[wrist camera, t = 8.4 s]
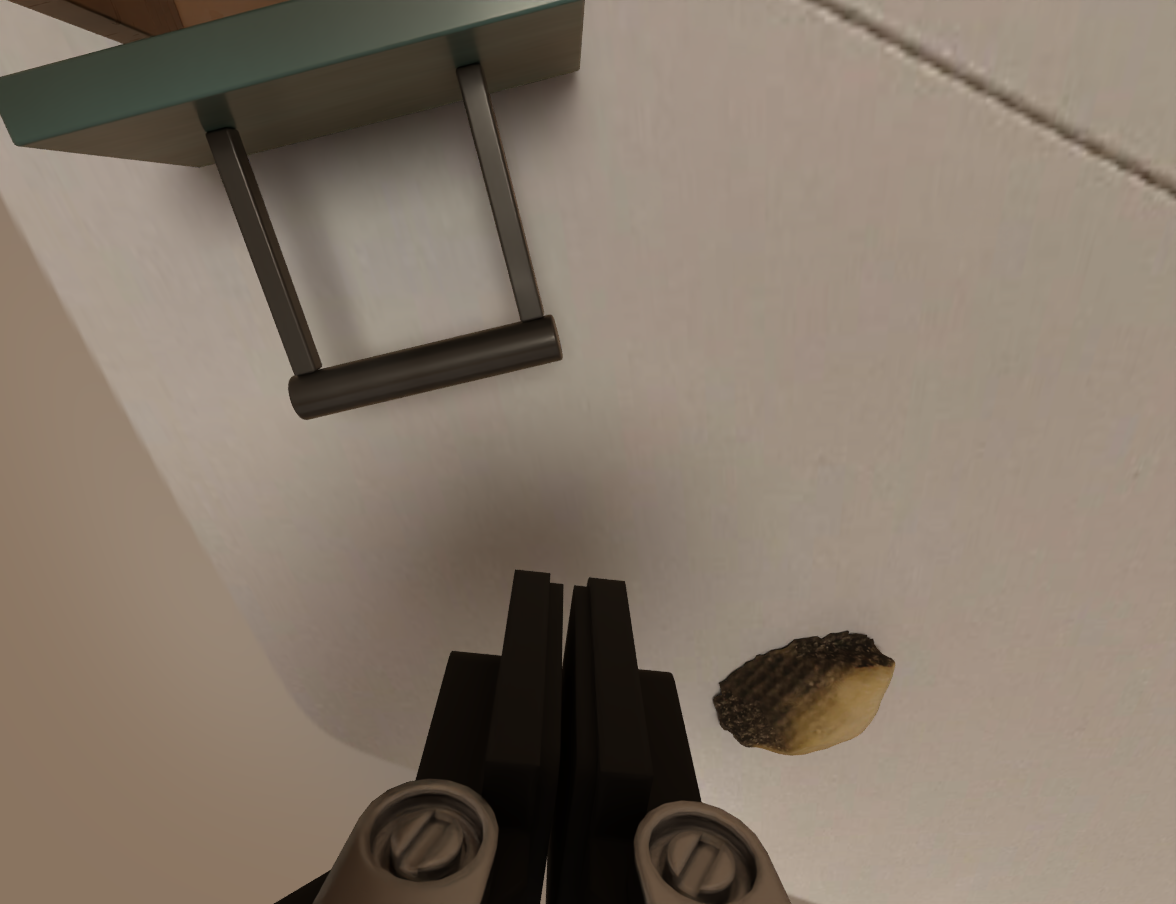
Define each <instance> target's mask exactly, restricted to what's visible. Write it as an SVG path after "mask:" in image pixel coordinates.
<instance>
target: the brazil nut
mask: <svg viewBox="0 0 1176 904" xmlns="http://www.w3.org/2000/svg"><path fill="white" fill-rule="evenodd" d="M848 634H849V631H847V632H843V633H833V634H829V635H828V636H827V637H825V638H824V639H821V638H819V637H812V638H806V639H797V640H794V641H793V642H792V643H791V644H790V645H789V646H788V647H786V648H784V649H780V650H773V651H770V652H769V653H768V654H766V655H759V656H756V659H755V660H752V661H750V662H747V663H745V665H744V667H742V668H740V669H738V670H736V671H735V672H733V673H732V674H731V675H730V676H729V677H728V678H727V680H726V681H723V682H720V683H719V684H720V688H721V692H722V695H717V696H716V697H715V698H714V699H713V701H714V706H715V708H716V709H717V711H718V713H719V717H720V725H721V727H722V728H723V729H724V730H728V731H729V732H730V733H732V734H733V736H734V738H735V739H736V740H737V741H738V742H739V743H740V744H741V745H743V746H745V747H758V748H763V749H766V750H769V751H772V752H775V753H778V754H784V755H804V754H808V753H811V752H814V751H818V750H823V749H826V748H829V747H831V746H834V745H836V744H839V743H841V742H844V741H848V740H851V739H853V738H854V737H856V736H858V735H859V734H861V733H862V732H863V731H864V730H865V729H866V727H867V726H868V725H869V724H870V723H871V721H872V720H873V718H874V716H875V715H876V713H877V711H878V709H879V706H880V703H881V700H882V698H883V696H884V693H885V692H886V690H887V688H888V686H889V684H890V681H891V678H892V676H893V672H894V668H895V662H894V660H893V659H892V658H889V657H887V656H885V655H883V654H882V653H881V652H880V651H879V650H878V649H877V647H876V646H875V645H874V641H873V639H869V638H867V635H859V634H852V635H848Z"/></svg>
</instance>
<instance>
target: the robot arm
mask: <svg viewBox="0 0 1176 904" xmlns="http://www.w3.org/2000/svg"><path fill="white" fill-rule="evenodd" d="M562 634H563V584H557V583H550V573H543V572H534V571H524V570H515V573H514V579H513V585H512V592H511V598H510V605H509V611H508V618H507V624H506V631H505V637H504V644H503V650H502V656H499V655H489V654H478V653H468V652H458V651H452V652H451V653H450V656H449V659H448V663H447V666H446V670H445V674H444V677H443V681H442V685H441V688H440V692H439V696H438V699H437V703H436V707H435V710H434V714H433V718H432V721H431V725H430V729H429V733H428V736H427V740H426V744H425V747H424V751H423V755H422V758H421V762H420V766H419V769H418V773H417V777H416V780H415V781H410V782H406V783H404V784H401V785H399V786H397V787H394V788H391V789H389V790H387V791H386V792H385V793H383V794H382V795H380V796H379V797H378V798H376V799H375V800H374V801H372V802H371V803H370V805H369V806H368V807H367V809H366V810H365V811H364V812H363V814H362V815H361V816H360V818H359V820H358V821H357V823H356V825H355V827H354V829H353V831H352V832H351V834H350V836H349V838H348V840H347V841H346V843H345V845H344V847H343V849H342V851H341V853H340V854H339V856H338V858H337V860H336V862H335V864H334V865H333V867H332V869H331V870H330V871H328V872H326V873H325V874H323V875H321V876H320V877H318V878H316V879H315V880H313V881H311V882H310V883H308V884H306V885H305V886H303V887H301V888H299V889H298V890H296V891H294V892H293V893H291V894H289V895H288V896H286V897H284V898H283V899H281V900H279V901H278V902H276V903H274V904H540V900H541V894H542V887H543V880H544V873H545V867H546V860H547V883H546V884H547V885H546V904H791V902H790V900H789V898H788V895H787V893H786V891H785V889H784V887H783V885H782V883H781V881H780V879H779V876H778V874H777V872H776V870H775V868H774V866H773V864H772V862H771V860H770V857H769V855H768V853H767V851H766V850H765V848H764V847H763V845H762V844H761V842H760V840H759V839H758V837H757V836H756V834H755V833H753V832H752V831H751V830H750V829H749V828H748V827H747V826H746V825H745V824H744V823H743V822H742V821H741V820H739V819H738V818H736V817H734V816H733V815H731V814H729V813H728V812H726V811H724V810H723V809H720V808H717V807H714V806H711V805H708V804H705V803H702V802H701V797H700V793H699V788H698V784H697V779H696V775H695V770H694V766H693V761H692V757H691V752H690V748H689V743H688V739H687V734H686V730H685V725H684V721H683V716H682V712H681V707H680V703H679V698H678V694H677V689H676V685H675V681H674V678H673V675H672V674H671V673H670V672H661V671H651V670H641V669H638V665H637V659H636V652H635V645H634V638H633V631H632V625H631V618H630V611H629V604H628V598H627V591H626V584H625V581H618V580H609V579H599V578H590V577H589V579H588V583H587V587H585V586H576V585H574V589H573V595H572V601H571V609H570V616H569V623H568V630H567V637H566V644H565V651H564V658H563V665H562Z"/></svg>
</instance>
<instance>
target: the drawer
mask: <svg viewBox="0 0 1176 904" xmlns="http://www.w3.org/2000/svg"><path fill="white" fill-rule="evenodd" d="M8 1H11V2H13V3H16V4H19V5H21V6H24V7H27V8H29V9H32V10H35V11H37V12H40V13H43V14H45V15H48V16H51V17H53V18H56V19H59V20H61V21H64V22H67V23H69V24H72V25H75V26H77V27H80V28H83V29H85V30H88V31H91V32H93V33H96V34H99V35H101V36H104V37H107V38H109V39H112V40H115V41H117V42H120V43H123V45H119V46H115V47H111V48H107V49H104V50H100V51H96V52H92V53H89V54H85V55H81V56H77V57H74V58H70V59H66V60H62V61H59V62H55V63H51V64H47V65H43V66H40V67H36V68H32V69H28V70H25V71H21V72H17V73H13V74H10V75H6V76H2V77H0V115H1V117H2V119H3V121H4V123H5V126H6V128H7V130H8V132H9V135H10V137H11V139H12V141H13V143H14V144H15V145H16V146H20V147H29V148H37V149H46V150H54V151H63V152H71V153H80V154H88V155H97V156H105V157H114V158H122V159H131V160H139V161H148V162H156V163H165V164H173V165H182V166H190V167H199V168H200V167H204V166H207V165H211V164H215V163H216V165H217V168H218V171H219V173H220V176H221V179H222V182H223V184H224V187H225V190H226V192H227V195H228V198H229V200H230V203H231V206H232V208H233V211H234V214H235V216H236V219H237V222H238V225H239V227H240V230H241V233H242V235H243V238H244V241H245V243H246V246H247V249H248V251H249V254H250V257H251V259H252V262H253V265H254V268H255V270H256V273H257V276H258V278H259V281H260V284H261V286H262V289H263V292H264V294H265V297H266V300H267V303H268V305H269V308H270V311H271V313H272V316H273V319H274V321H275V324H276V327H277V329H278V332H279V335H280V337H281V340H282V343H283V346H284V348H285V351H286V354H287V356H288V359H289V362H290V364H291V367H292V370H293V372H294V376H292V377H291V378H290V380H289V384H288V390H289V396H290V400H291V403H292V406H293V408H294V410H295V412H296V413H297V414H298V416H299V417H300V418H302V419H304V420H309V419H313V418H317V417H322V416H326V415H330V414H334V413H339V412H343V411H347V410H351V409H356V408H360V407H364V406H368V405H373V404H377V403H381V402H385V401H390V400H394V399H398V398H402V397H407V396H411V395H415V394H419V393H424V392H428V391H432V390H436V389H441V388H445V387H449V386H453V385H458V384H462V383H466V382H470V381H475V380H479V379H483V378H487V377H492V376H496V375H500V374H504V373H509V372H513V371H517V370H521V369H526V368H530V367H534V366H538V365H543V364H547V363H551V362H555V361H560V360H562V358H563V355H562V349H561V344H560V340H559V335H558V331H557V327H556V324H555V320H554V318H553V316H552V315H550V314H549V315H545V316H543V315H544V309H543V305H542V301H541V297H540V293H539V289H538V285H537V281H536V277H535V273H534V269H533V265H532V261H531V257H530V253H529V249H528V245H527V241H526V237H525V233H524V229H523V225H522V221H521V217H520V213H519V209H518V205H517V201H516V197H515V193H514V189H513V185H512V181H511V177H510V173H509V169H508V165H507V161H506V157H505V153H504V149H503V145H502V141H501V137H500V133H499V129H498V125H497V121H496V117H495V113H494V109H493V105H492V101H491V97H490V93H494V92H497V91H501V90H505V89H509V88H513V87H517V86H521V85H525V84H529V83H533V82H537V81H541V80H544V79H548V78H552V77H556V76H560V75H564V74H568V73H572V72H576V71H578V70H579V69H580V58H581V45H582V31H583V18H584V5H585V0H8ZM462 100H463V102H464V105H465V109H466V113H467V117H468V121H469V125H470V128H471V132H472V136H473V140H474V144H475V148H476V151H477V155H478V159H479V163H480V167H481V171H482V174H483V178H484V182H485V186H486V190H487V193H488V197H489V201H490V205H491V209H492V213H493V216H494V220H495V224H496V228H497V232H498V236H499V239H500V243H501V247H502V251H503V255H504V259H505V262H506V266H507V270H508V274H509V278H510V282H511V285H512V289H513V293H514V297H515V301H516V304H517V308H518V312H519V316H520V320H521V321H520V322H516V323H512V324H508V325H503V326H499V327H495V328H491V329H487V330H482V331H478V332H474V333H470V334H466V335H461V336H457V337H453V338H449V339H445V340H441V341H436V342H432V343H428V344H424V345H420V346H415V347H411V348H407V349H403V350H399V351H394V352H390V353H386V354H382V355H378V356H373V357H369V358H365V359H361V360H357V361H352V362H348V363H344V364H340V365H336V366H332V367H327V368H323V369H320V368H321V367H322V363H321V360H320V358H319V355H318V352H317V349H316V346H315V344H314V341H313V338H312V335H311V332H310V330H309V327H308V324H307V321H306V319H305V316H304V313H303V310H302V307H301V305H300V302H299V299H298V296H297V293H296V291H295V288H294V285H293V282H292V279H291V277H290V274H289V271H288V268H287V265H286V263H285V260H284V257H283V254H282V251H281V249H280V246H279V243H278V240H277V237H276V235H275V232H274V229H273V226H272V223H271V221H270V218H269V215H268V212H267V209H266V207H265V204H264V201H263V198H262V195H261V193H260V190H259V187H258V184H257V181H256V179H255V176H254V173H253V170H252V167H251V165H250V162H249V159H248V156H247V155H251V154H255V153H258V152H262V151H266V150H270V149H274V148H278V147H282V146H286V145H290V144H294V143H298V142H302V141H305V140H309V139H313V138H317V137H321V136H325V135H329V134H333V133H337V132H341V131H345V130H349V129H352V128H356V127H360V126H364V125H368V124H372V123H376V122H380V121H384V120H388V119H392V118H396V117H399V116H403V115H407V114H411V113H415V112H419V111H423V110H427V109H431V108H435V107H439V106H443V105H447V104H450V103H454V102H458V101H462ZM318 369H319V370H318Z"/></svg>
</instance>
